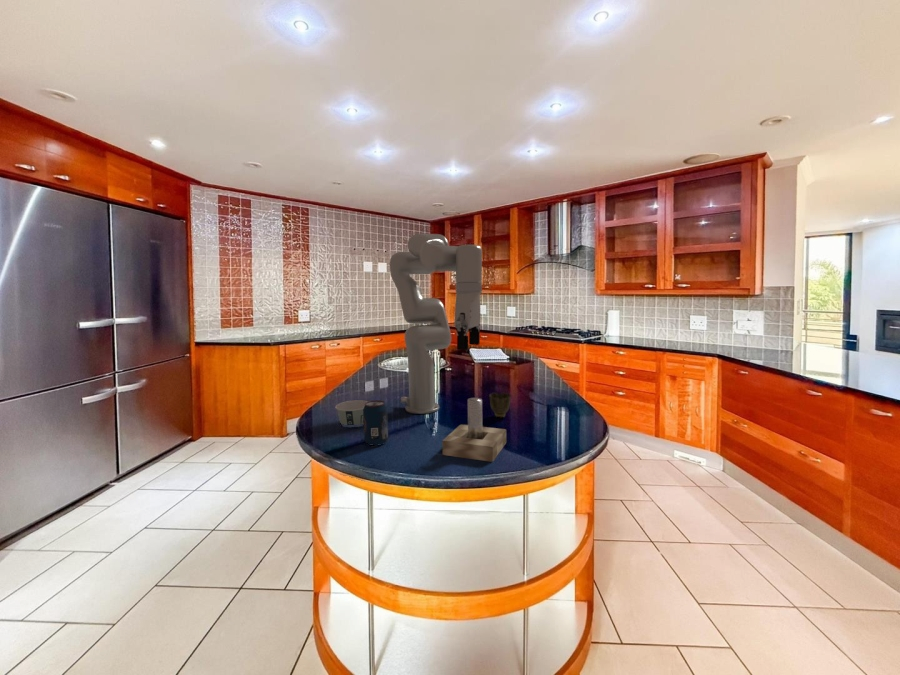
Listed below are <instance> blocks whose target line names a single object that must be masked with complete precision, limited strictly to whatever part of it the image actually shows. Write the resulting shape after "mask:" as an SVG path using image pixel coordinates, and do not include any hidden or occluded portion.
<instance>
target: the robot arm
mask: <svg viewBox="0 0 900 675" xmlns="http://www.w3.org/2000/svg"><path fill="white" fill-rule="evenodd" d="M407 248H408V251H407V250H405V251H398V252H396V253H393V254H391V256H390V259H389V273H390V276H391V279H392V282H393V283H394V286H395V287H396V290H397V292H398V296H399V301H400V305H401V306H400V307H401V310H402V315H403V318H404V321H405V322H406V323H408V324H410V325H411V324H412V325H413V326H410V327H408V328H407V329H406V331H405V333H404V344H405V348H406V352H407V353H406V355H407V366H408V368H407V369H408V370H407V371H408V391H409V392H408V393H409V394H408V396H401V398H400V403H401V404H406V406H405V411H406V412H407V413H409V414H417V415H418V414H420V415H423V414H430V413H436V411H439V410H440V404H438V403H436V397H435V396H436V393H435V387H436V386H435V364H434V363H435V361H434V360H433V358H432V357H431V355H430V354H429V353H428V351H434V350H435V351H436V350H443V349H447V348H448V347H450V345H451V343H452V333H451V328H450V324H449V321H448V320H449V319H448V317H447V312H446V308H445V305H444V303H443V302H442V301H441V300H440V299H439V298H437V297H436V298H434V297H427V298H426V297H424V296H423V295H422V290H421V287H420V285H419V284H418V283H417V281H416V279H414V278H413V277H411V275H432V274H433V273H435V272H455V295H456V296H455V305H454V325H453V326H454V327H455V329H456V348H457V350H460V351H468V350H469V345H475V346H479V345H480V340H481V339H480V334H481V333H480V331H481V329H480V326H481V314H482V313H481V296H480V295H481V294H482V293H483V289H482V288H483V249H482V247H481V246H480V245H478V244H459V245H450V244H449V241H448V239H447V238H446V236H444V235H443V234H439V233H422V232H421V233H420V232H419V233H415V234H413V235H412V236H411V237H409V239H408V240H407ZM420 324H421V325H420Z"/></svg>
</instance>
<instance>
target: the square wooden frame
mask: <svg viewBox="0 0 900 675" xmlns="http://www.w3.org/2000/svg"><path fill="white" fill-rule="evenodd" d="M482 428H483V440H480V439H472V438H468V424H459V425H458V426H457V427H456V428H455V429H454V430H452V431H451V432H450V433H449V434H448V435H447V436H446V437H445V438H444V439H442V444H441V446H442V455H443V456H448V457H449V456H450V457H455V458H462V459H468V460H469V459H470V460H476V461H477V460H478V461H484V462H489V463H493V462H494V461H495V460H496V458H497V456H498V455H499V454H500V453H501V452H502V450H503V448H504V447H505V445H506V444H507V429H505V428H496V427H487V426H482Z"/></svg>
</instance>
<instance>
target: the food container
mask: <svg viewBox="0 0 900 675" xmlns="http://www.w3.org/2000/svg"><path fill="white" fill-rule="evenodd" d="M366 402H369V401H367V400H362V399H360V400H359V399H358V400H347V401H343V402H340V403H338V404H336V405H335V406H334V407H335V409H336V413H337V415H338V416H337V417H338V420H339V424H340V423H341V424H344V425H360V424H364V419H363V409H364V406H365V403H366Z"/></svg>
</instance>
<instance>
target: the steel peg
mask: <svg viewBox="0 0 900 675" xmlns="http://www.w3.org/2000/svg"><path fill="white" fill-rule="evenodd" d="M467 425H468V438H472V439H480V440H483V428H482V427H483V399H482V398H480V397H470V398H467Z"/></svg>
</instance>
